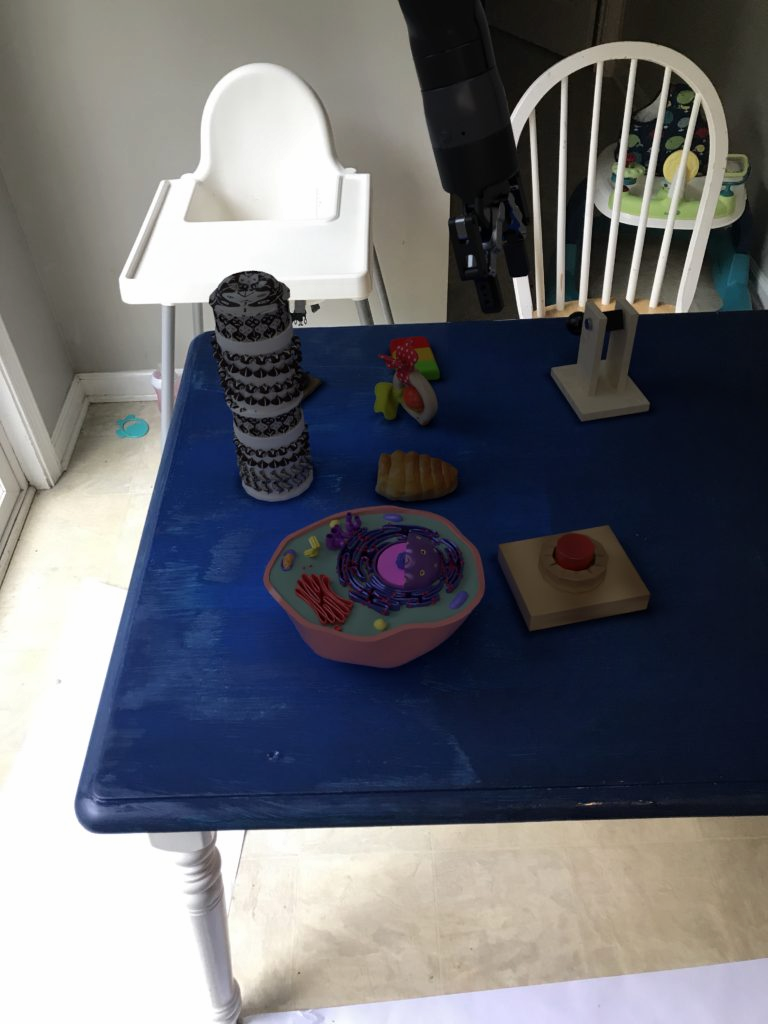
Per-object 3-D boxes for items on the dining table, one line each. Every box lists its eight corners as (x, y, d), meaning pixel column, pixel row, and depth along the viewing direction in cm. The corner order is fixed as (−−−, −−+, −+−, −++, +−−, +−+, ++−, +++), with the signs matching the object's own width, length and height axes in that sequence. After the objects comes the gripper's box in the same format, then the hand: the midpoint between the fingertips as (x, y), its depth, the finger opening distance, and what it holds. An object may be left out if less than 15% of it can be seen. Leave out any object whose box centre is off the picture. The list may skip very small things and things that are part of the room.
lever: (563, 337, 113) (561, 313, 112) (585, 334, 113) (583, 310, 113) (603, 335, 100) (601, 308, 100) (628, 332, 101) (626, 305, 100)
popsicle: (426, 345, 119) (426, 333, 118) (448, 405, 108) (448, 392, 107) (388, 349, 118) (387, 338, 117) (406, 410, 107) (406, 398, 106)
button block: (605, 539, 88) (611, 512, 86) (646, 609, 81) (654, 581, 78) (497, 559, 87) (499, 531, 84) (529, 631, 80) (532, 603, 77)
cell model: (293, 559, 88) (280, 477, 80) (483, 569, 86) (488, 486, 78) (258, 691, 76) (238, 609, 68) (479, 707, 73) (484, 625, 66)
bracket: (550, 375, 112) (560, 291, 104) (613, 365, 113) (627, 282, 105) (581, 421, 104) (594, 335, 96) (648, 411, 105) (667, 324, 97)
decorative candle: (222, 490, 97) (179, 293, 80) (267, 446, 103) (235, 254, 86) (288, 513, 93) (258, 313, 76) (330, 466, 99) (311, 270, 82)
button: (583, 542, 83) (586, 530, 82) (598, 568, 80) (600, 555, 79) (549, 549, 83) (551, 536, 81) (562, 574, 80) (564, 561, 79)
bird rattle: (440, 425, 108) (392, 379, 110) (469, 371, 99) (416, 321, 101) (407, 448, 105) (359, 399, 107) (434, 394, 96) (381, 342, 97)
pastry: (457, 467, 98) (458, 442, 96) (457, 506, 93) (458, 480, 91) (378, 467, 99) (376, 441, 96) (374, 505, 94) (373, 479, 91)
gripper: (480, 146, 70) (520, 321, 79) (532, 98, 79) (562, 260, 88) (403, 162, 74) (449, 328, 83) (461, 115, 83) (497, 268, 92)
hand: (507, 293), depth 85 cm, fingers open, 8 cm apart
